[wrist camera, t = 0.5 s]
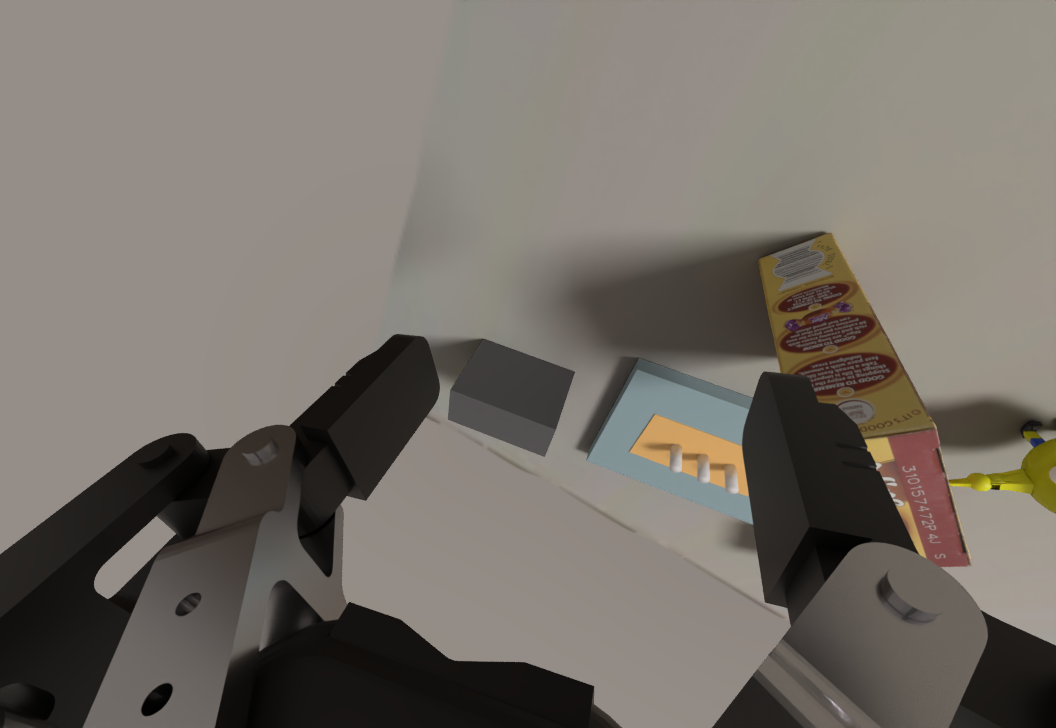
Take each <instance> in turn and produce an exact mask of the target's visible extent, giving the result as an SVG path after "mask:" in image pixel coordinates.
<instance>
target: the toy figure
mask: <svg viewBox="0 0 1056 728" xmlns="http://www.w3.org/2000/svg"><path fill="white" fill-rule="evenodd" d="M1041 426H1042V423H1041V422H1028V423H1027V424H1026V425H1025V426H1024V427H1022V429H1021V434H1022V437H1023V438H1026V439H1027V440H1028V441H1029V443H1030V444H1031V445H1032V446H1033V447H1034V448H1033V449H1032V450H1030V451H1029V453H1028V454H1027V455H1026V456H1025V458H1024V459H1023V461H1022V465H1021V469H1018V470H1014V471H1009V472H1004V473H994V474H988V475H984V474H981V473H972V474H970V475H969V476H968V477H967V478H963V479H953V480H949V483H950V486H963V487H971V488H973V489H975V490H978V491H987V490H989V489H995V490H1011V491H1017V492H1023V493H1029V494H1031V496H1032V497H1033V498H1034V499H1035V500H1036V501H1037V502H1039V503H1040V504H1041V505H1043V506H1044V507H1045V508H1047V509H1048V510H1050V511H1052V512H1054V513H1056V438H1055V439H1052V440H1049V441H1046V442H1045V441H1044V440H1043V439H1042V438H1041V437H1040V436H1039V435H1038V434H1037V433H1036V431H1037V430H1038V429H1039V428H1040V427H1041Z"/></svg>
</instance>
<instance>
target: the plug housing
mask: <svg viewBox="0 0 1056 728" xmlns="http://www.w3.org/2000/svg"><path fill="white" fill-rule="evenodd" d="M574 373H575V372H573V371H571V370H568V369H565V368H562V367H560V366H557V365H554V364H551V363H549V362H546V361H543V360H540V359H538V358H535V357H532V356H529V355H527V354H524V353H521V352H518V351H516V350H513V349H510V348H507V347H505V346H502V345H499V344H496V343H494V342H491V341H488V340H485V339H483V340H482V342H481V343H480V345H479V346H478V348H477V349H476V351H475V353H474V354H473V356H472V357H471V359H470V360H469V362H468V363H467V365H466V366H465V368H464V370H463V371H462V373H461V374H460V376H459V377H458V379H457V380H456V382H455V384H454V385H453V387H452V388H451V390H450V401H449V413H448V420H450V421H453V422H456V423H458V424H461V425H463V426H466V427H469V428H471V429H474V430H476V431H479V432H482V433H484V434H487V435H489V436H492V437H495V438H497V439H500V440H502V441H505V442H507V443H510V444H513V445H515V446H518V447H520V448H523V449H526V450H528V451H531V452H533V453H536V454H539V455H541V456H544V457H545V455H546V452H547V450H548V447H549V445H550V443H551V440H552V438H553V435H554V433H555V430H556V427H557V424H558V421H559V418H560V415H561V412H562V409H563V406H564V403H565V400H566V397H567V394H568V391H569V388H570V385H571V382H572V379H573V376H574Z"/></svg>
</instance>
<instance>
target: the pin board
mask: <svg viewBox="0 0 1056 728" xmlns="http://www.w3.org/2000/svg"><path fill="white" fill-rule="evenodd" d="M752 400H753V398H751V397H748V396H745V395H742V394H739V393H737V392H734V391H731V390H728V389H725V388H722V387H720V386H717V385H714V384H711V383H708V382H706V381H703V380H700V379H697V378H694V377H691V376H689V375H686V374H683V373H680V372H677V371H675V370H672V369H669V368H666V367H663V366H660V365H658V364H655V363H652V362H649V361H646V360H644V359H641V358H639V359H638V361H637V363H636V364H635V366H634V368H633V370H632V372H631V374H630V375H629V377H628V379H627V381H626V383H625V385H624V386H623V388H622V390H621V392H620V394H619V396H618V397H617V399H616V401H615V403H614V405H613V407H612V408H611V410H610V412H609V414H608V416H607V418H606V419H605V421H604V423H603V425H602V427H601V429H600V430H599V432H598V434H597V436H596V438H595V440H594V441H593V443H592V445H591V447H590V449H589V452H588V456H587V460H586V461H588V462H591V463H593V464H596V465H598V466H601V467H604V468H606V469H609V470H611V471H614V472H617V473H619V474H622V475H625V476H627V477H630V478H632V479H635V480H638V481H640V482H643V483H645V484H648V485H651V486H653V487H656V488H658V489H661V490H664V491H666V492H669V493H672V494H674V495H677V496H679V497H682V498H685V499H687V500H690V501H692V502H695V503H698V504H700V505H703V506H705V507H708V508H711V509H713V510H716V511H718V512H721V513H724V514H726V515H729V516H732V517H734V518H737V519H739V520H742V521H745V522H747V523H750V524H752V525H753V519H752V513H751V506H750V499H749V493H748V486H747V480H746V473H745V466H744V460H743V453H742V436H743V429H744V425H745V421H746V418H747V415H748V412H749V409H750V406H751V403H752Z"/></svg>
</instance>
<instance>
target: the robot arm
mask: <svg viewBox="0 0 1056 728" xmlns="http://www.w3.org/2000/svg"><path fill="white" fill-rule="evenodd" d="M439 391H440V384H439V379H438V375H437V372H436V368H435V365H434V361H433V358H432V354H431V351H430V347H429V344H428V342H427V340H426V339H425V338H424V337H422V336H412V335H402V334H395V335H393V336H392V337H391V338H390V339H389V340H388V341H387V342H386V343H384V344H383V345H382V346H381V347H380V348H379V349H378V350H377V351H375V352H373V353H372V354H370V355H368V356H366V357H365V358H363V359H361V360H359V361H358V362H357V363H356V364H355V365H354V366H353V367H352V368H351V369H350V370H349V371H348V372H347V373H346V376H342V377H341V378H340V379H339V380H338V381H337V382H336V383H335V386H331V387H330V389H328V390H327V391H326V392H325V393H324V394H323V395H322V396H321V397H320V398H319V399H318V400H317V401H315V402H314V403H313V404H312V405H311V406H310V407H309V408H308V409H307V410H306V411H305V412H304V413H303V414H302V415H300V416H299V417H298V418H297V419H296V420H295V421H294V422H293V423H292V424H291V425H290V426H286V425H272V426H267V427H264V428H261V429H259V430H256V431H254V432H252V433H250V434H248V435H246V436H245V437H243V438H242V439H240V440H239V441H238V442H236V443H235V444H234V445H233V446H232V447H231V448H225V449H214V450H205V449H204V447H203V446H202V445H201V444H200V443H199V441H198V440H197V439H196V438H195V437H194V436H193V435H191V434H188V433H178V434H173V435H169V436H166V437H163V438H160V439H158V440H156V441H153V442H152V443H149V444H147V445H145V446H144V447H142V448H141V449H139V450H138V451H136V452H135V453H133V454H132V455H131V456H129V457H128V458H127V459H125V460H124V461H123V462H122V463H120V464H119V465H117V466H116V467H115V468H114V469H112V470H111V471H110V472H108V473H107V474H106V475H104V476H103V477H102V478H100V479H99V480H98V481H97V482H95V483H94V484H92V485H91V486H90V487H89V488H87V489H86V490H85V491H83V492H82V493H81V494H79V495H78V496H77V497H75V498H74V499H73V500H71V501H70V502H69V503H68V504H66V505H65V506H63V507H62V508H61V509H59V510H58V511H57V512H56V513H54V514H53V515H52V516H50V517H49V518H48V519H46V520H45V521H44V522H42V523H41V524H40V525H38V526H37V527H36V528H34V529H33V530H32V531H30V532H29V533H28V534H27V535H25V536H24V537H23V538H22V539H20V540H19V541H17V542H16V543H15V544H13V545H12V546H11V547H9V548H8V549H7V550H5V551H4V552H3V553H1V554H0V728H622V727H620V726H619V725H618V724H617V723H616V722H615V721H614V720H613V719H612V718H611V717H610V716H609V715H608V714H606V713H605V712H604V711H602V710H601V709H600V708H598V707H597V706H596V705H594V686H592V685H589V684H586V683H583V682H580V681H577V680H574V679H572V678H569V677H566V676H563V675H560V674H557V673H554V672H551V671H548V670H546V669H543V668H540V667H537V666H533V665H531V664H528V663H525V662H476V661H475V662H474V661H454V660H451V659H449V658H447V657H446V656H445V655H443V654H442V653H441V652H440V651H438V650H437V649H436V648H435V647H433V646H432V645H431V644H430V643H429V642H427V641H426V640H425V639H424V638H422V637H421V636H420V635H419V634H418V633H416V632H415V631H414V630H413V629H411V628H410V627H409V626H408V625H407V624H405V623H404V622H403V621H402V620H400V619H397V618H394V617H391V616H389V615H385V614H383V613H380V612H377V611H374V610H371V609H368V608H365V607H362V606H359V605H356V604H354V603H351V602H349V603H348V604H347V603H346V600H345V597H344V594H343V589H342V554H343V520H344V513H343V508H342V506H341V505H340V504H341V503H342V501H343V500H344V499H345V497H346V496H350V497H353V498H358V499H361V500H365V501H366V500H367V498H368V497H369V496H370V494H371V493H372V491H373V490H374V488H375V487H376V486H377V484H378V483H379V482H380V480H381V479H382V477H383V476H384V475H385V473H386V472H387V470H388V469H389V468H390V466H391V464H392V463H393V462H394V461H395V459H396V458H397V456H398V455H399V454H400V452H401V451H402V450H403V448H404V447H405V445H406V444H407V443H408V441H409V440H410V438H411V437H412V436H413V434H414V433H415V431H416V430H417V429H418V427H419V426H420V424H421V422H423V420H424V419H425V417H426V416H427V415H428V413H429V412H430V410H431V409H432V408H433V406H434V405H435V403H436V401H437V399H438V396H439ZM867 448H868V446H867V444H866V442H865V440H864V438H863V436H862V434H861V432H860V429H859V427H858V425H857V424H856V423H855V422H854V421H853V420H852V419H851V418H850V417H849V416H848V415H846V414H845V413H844V412H843V411H842V410H841V409H840V408H839V407H838V406H837V405H836V404H830V403H821V402H818V399H817V397H816V394H815V392H814V389H813V387H812V384H811V382H810V379H809V378H808V377H807V376H805V375H795V374H785V373H775V372H763V373H762V375H761V376H760V379H759V381H758V385H757V388H756V391H755V394H754V397H753V400H752V403H751V406H750V409H749V412H748V415H747V418H746V421H745V425H744V429H743V436H742V453H743V460H744V466H745V473H746V480H747V486H748V493H749V499H750V506H751V513H752V519H753V526H754V533H755V539H756V546H757V552H758V559H759V566H760V572H761V579H762V586H763V592H764V599H765V602H766V603H770V604H774V605H778V606H782V607H786V608H788V613H789V619H790V624H791V627H790V629H789V630H788V631H787V633H786V634H785V635H784V637H783V638H782V639H781V640H780V642H779V643H778V644H777V646H776V647H775V648H774V649H773V651H772V652H771V653H770V654H769V655H768V656H767V658H766V659H765V660H764V662H763V663H762V664H761V665H760V666H759V668H758V669H757V671H756V672H755V673H754V674H753V676H752V677H751V678H750V679H749V681H748V682H747V683H746V685H745V686H744V687H743V689H742V690H741V691H740V692H739V694H738V695H737V696H736V698H735V699H734V700H733V701H732V703H731V704H730V705H729V707H728V708H727V709H726V710H725V712H724V713H723V714H722V716H721V717H720V718H719V720H718V721H717V722H716V723H715V725H714V726H713V727H712V728H1056V645H1053V644H1051V643H1049V642H1047V641H1044V640H1042V639H1040V638H1038V637H1036V636H1033V635H1031V634H1029V633H1027V632H1025V631H1022V630H1020V629H1018V628H1016V627H1014V626H1011V625H1009V624H1007V623H1005V622H1003V621H1001V620H999V619H997V618H994V617H992V616H990V615H988V614H987V613H985V612H983V611H982V610H980V608H979V607H978V605H977V604H976V602H975V601H974V599H973V598H972V596H971V595H970V594H969V593H968V592H967V591H966V589H965V588H964V587H963V586H962V585H961V584H960V583H959V582H958V581H957V580H956V579H955V578H953V577H952V576H951V575H950V574H948V573H947V572H946V571H945V570H943V569H942V568H941V567H939V566H938V565H936V564H935V563H933V562H932V561H930V560H928V559H926V558H925V557H923V556H921V555H920V554H919V553H918V551H917V549H916V547H915V545H914V543H913V541H912V539H911V537H910V535H909V532H908V530H907V528H906V526H905V524H904V522H903V520H902V518H901V516H900V514H899V511H898V509H897V507H896V505H895V503H894V501H893V499H892V497H891V495H890V493H889V490H888V488H887V486H886V484H885V482H884V480H883V478H882V476H881V474H880V471H877V470H876V467H877V465H876V463H875V461H874V459H873V457H872V455H871V453H870V452H869V451H867ZM156 516H157V517H158V518H160V519H161V520H162V521H163V522H164V523H165V524H166V525H167V526H169V527H170V528H171V529H172V530H173V531H174V532H175V533H176V535H175V536H174V537H173V538H171V539H170V540H169V541H168V542H167V544H165V545H164V546H163V548H162V549H161V550H159V551H158V552H157V553H156V554H155V555H154V556H153V558H151V560H150V561H149V562H147V564H145V566H143V567H142V569H140V570H139V571H138V572H137V574H135V575H134V576H133V577H132V579H130V580H129V581H128V582H127V583H126V584H125V585H124V586H123V587H122V588H121V589H120V590H119V591H118V592H117V593H116V594H115V595H114V596H112V597H111V598H109V599H106V598H105V597H103V596H102V595H100V594H98V593H97V592H96V590H95V588H94V580H95V577H96V574H97V573H98V571H99V569H100V568H101V567H102V566H103V564H105V563H106V562H107V561H108V560H109V559H110V558H111V557H112V556H113V555H114V554H115V553H116V552H118V551H119V550H120V549H121V548H122V547H123V546H124V545H125V544H126V543H127V542H128V541H130V540H131V539H132V538H133V537H134V536H135V535H136V534H137V533H138V532H139V531H140V530H141V529H143V528H144V527H145V526H146V525H147V524H148V523H149V522H150V521H151V520H152V519H153V518H154V517H156Z"/></svg>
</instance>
